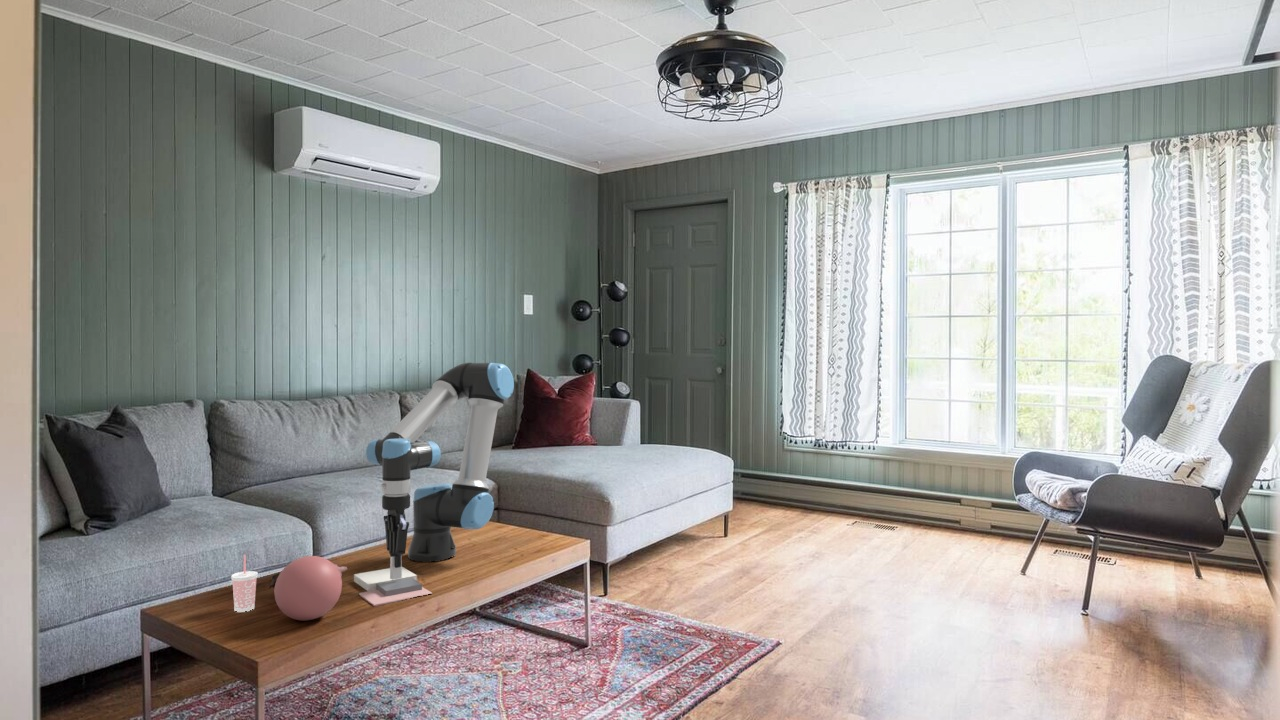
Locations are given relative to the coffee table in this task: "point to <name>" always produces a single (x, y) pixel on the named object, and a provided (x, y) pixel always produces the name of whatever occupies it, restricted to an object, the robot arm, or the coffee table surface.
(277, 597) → the balloon
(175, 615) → the coffee table surface
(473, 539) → the coffee table surface
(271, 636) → the coffee table surface
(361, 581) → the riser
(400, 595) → the felt mat
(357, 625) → the coffee table surface
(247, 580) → the beverage cup
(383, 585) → the coaster
